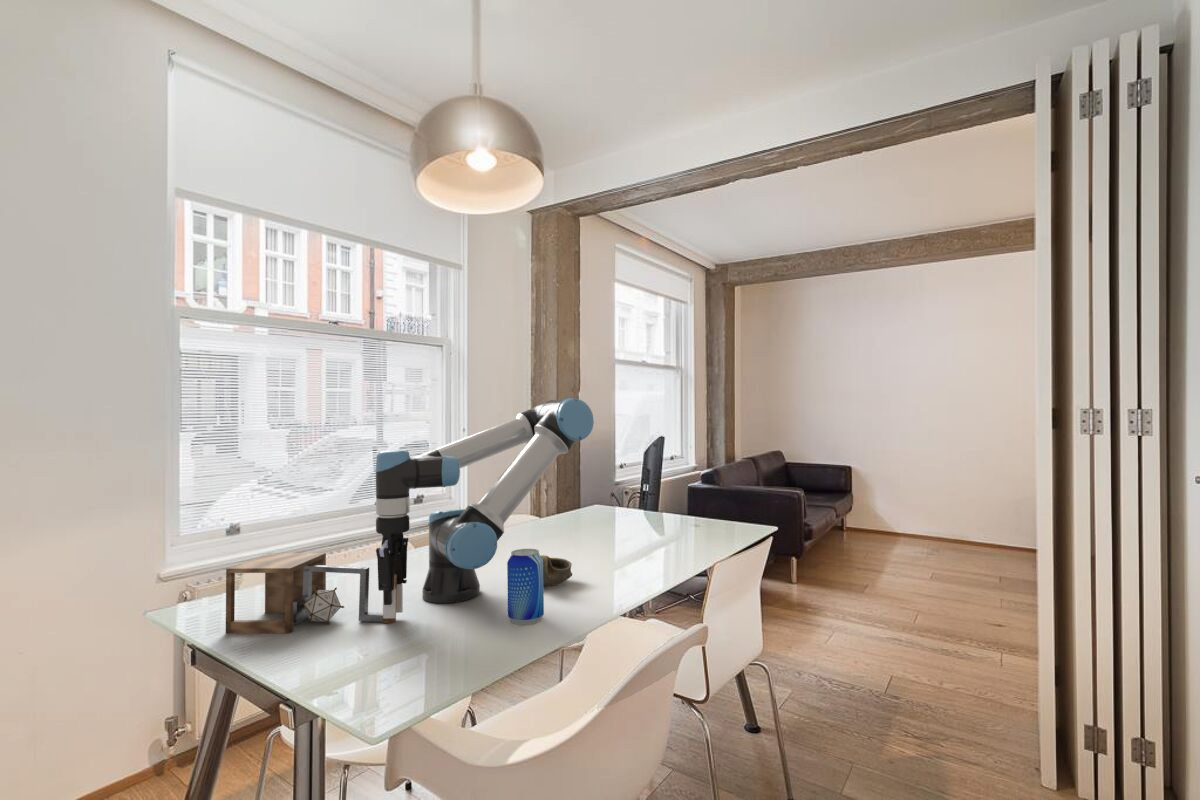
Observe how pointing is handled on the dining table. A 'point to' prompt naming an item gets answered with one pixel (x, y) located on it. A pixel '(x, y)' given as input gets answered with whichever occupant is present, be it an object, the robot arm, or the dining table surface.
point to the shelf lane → (274, 589)
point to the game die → (322, 605)
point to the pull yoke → (364, 615)
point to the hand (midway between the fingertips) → (393, 614)
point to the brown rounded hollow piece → (555, 570)
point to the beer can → (525, 587)
